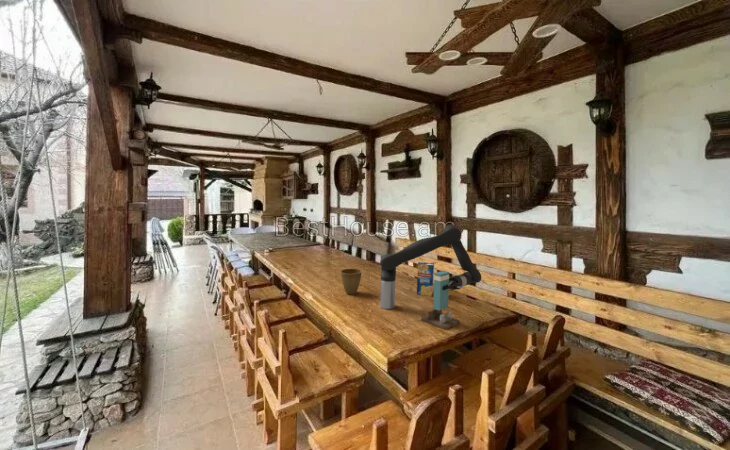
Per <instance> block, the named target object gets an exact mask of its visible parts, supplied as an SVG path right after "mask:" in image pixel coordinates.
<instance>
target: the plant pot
mask: <svg viewBox="0 0 730 450" xmlns="http://www.w3.org/2000/svg"><path fill="white" fill-rule="evenodd" d="M362 272H363V271H362V270H361V269H358V268H343V269H342V270H340V276H341V277H340V278H341V282H342V285H343V289H344V291H345V294H347V295H355V294H357V293H358V289H359V286H360V282H361V279H362Z"/></svg>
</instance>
